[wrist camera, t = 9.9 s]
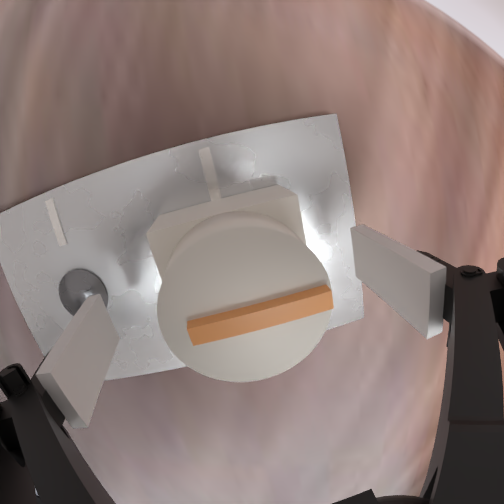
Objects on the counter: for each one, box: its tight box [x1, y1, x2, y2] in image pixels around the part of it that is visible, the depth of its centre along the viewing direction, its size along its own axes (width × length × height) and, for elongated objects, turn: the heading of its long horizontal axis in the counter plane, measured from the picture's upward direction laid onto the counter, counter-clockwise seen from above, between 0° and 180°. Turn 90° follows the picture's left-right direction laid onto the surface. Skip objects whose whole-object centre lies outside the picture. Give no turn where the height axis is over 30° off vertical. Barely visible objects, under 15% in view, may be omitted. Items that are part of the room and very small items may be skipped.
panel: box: [0, 114, 364, 381], centre depth 18 cm, size 24×14×4 cm, turn 103°
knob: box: [146, 184, 334, 382], centre depth 15 cm, size 7×7×8 cm
